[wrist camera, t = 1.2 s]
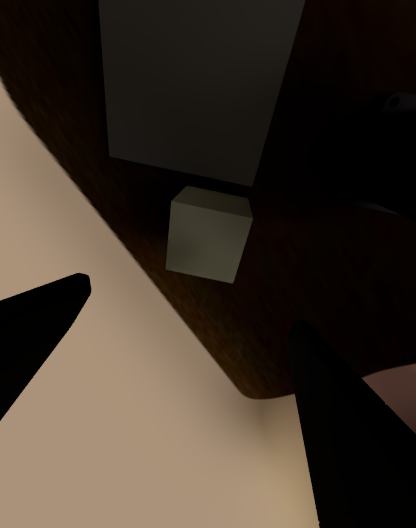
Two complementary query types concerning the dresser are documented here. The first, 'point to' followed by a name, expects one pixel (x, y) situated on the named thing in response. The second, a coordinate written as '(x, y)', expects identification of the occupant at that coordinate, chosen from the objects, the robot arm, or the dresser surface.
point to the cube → (207, 233)
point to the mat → (194, 81)
